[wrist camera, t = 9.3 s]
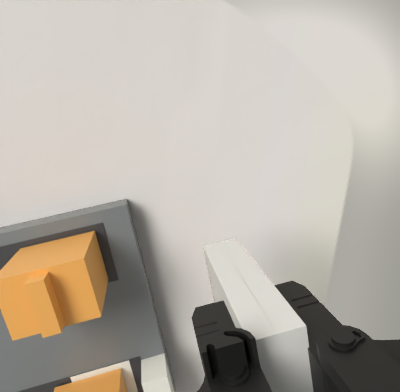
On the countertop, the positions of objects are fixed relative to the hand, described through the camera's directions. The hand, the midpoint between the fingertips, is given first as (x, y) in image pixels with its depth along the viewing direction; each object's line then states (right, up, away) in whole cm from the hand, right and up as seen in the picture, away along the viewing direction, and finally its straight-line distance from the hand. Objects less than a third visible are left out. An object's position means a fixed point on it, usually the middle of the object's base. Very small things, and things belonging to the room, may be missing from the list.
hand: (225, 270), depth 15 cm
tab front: (-9, -1, +4) cm, 10 cm away
